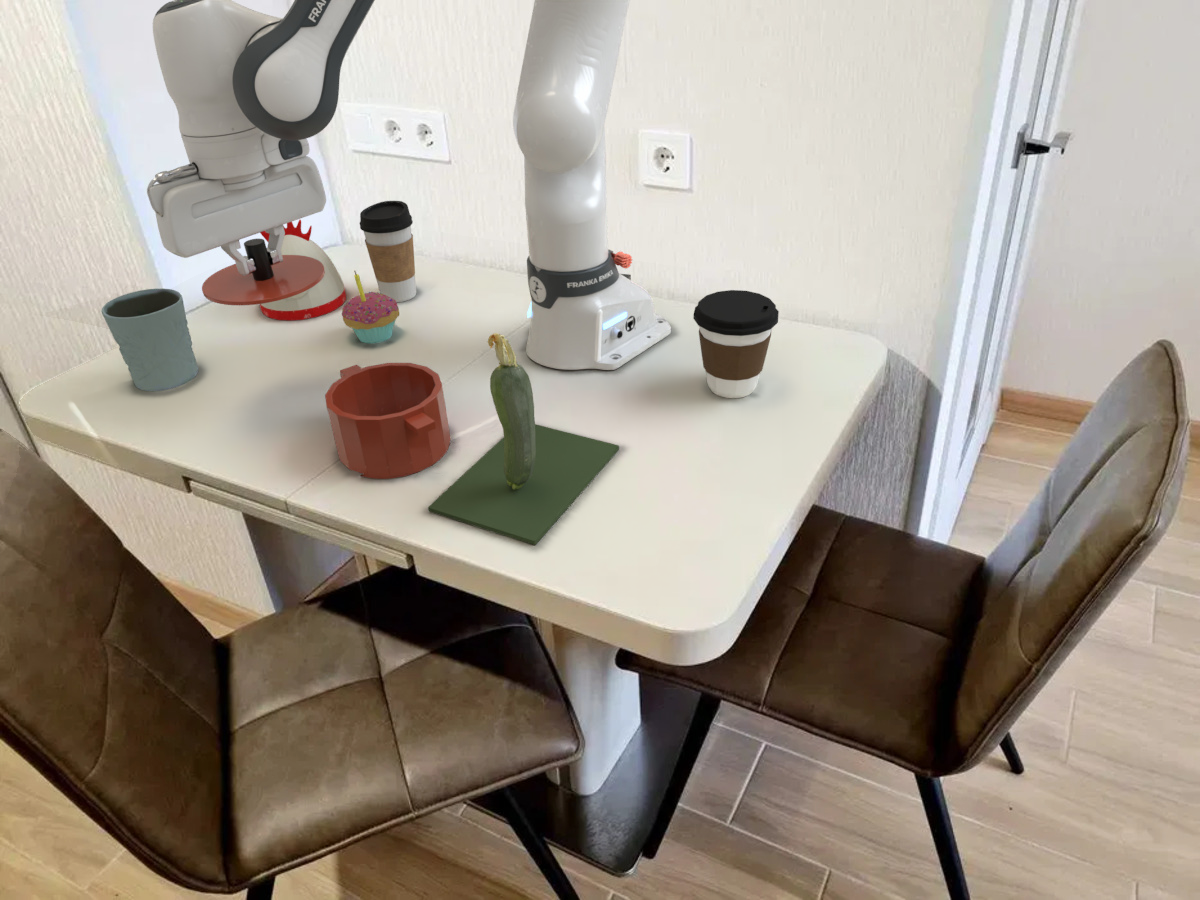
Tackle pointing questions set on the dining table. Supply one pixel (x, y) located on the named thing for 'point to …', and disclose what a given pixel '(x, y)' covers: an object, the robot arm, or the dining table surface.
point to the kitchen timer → (316, 298)
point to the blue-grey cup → (153, 337)
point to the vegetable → (514, 412)
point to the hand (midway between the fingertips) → (261, 267)
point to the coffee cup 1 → (390, 248)
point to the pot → (388, 419)
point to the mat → (526, 486)
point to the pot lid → (263, 278)
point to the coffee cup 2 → (734, 339)
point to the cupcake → (370, 315)
